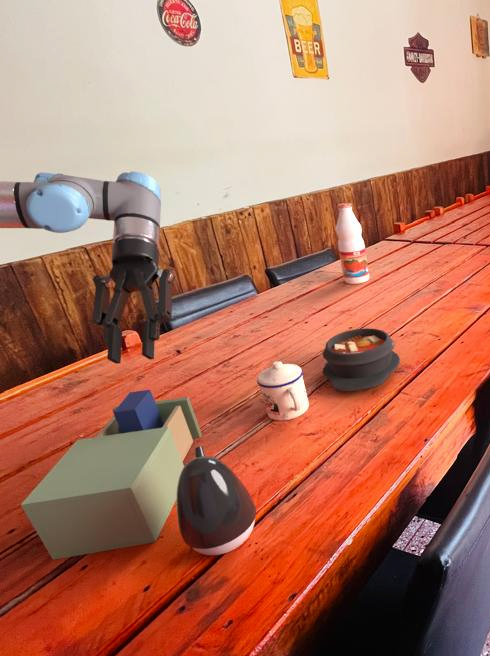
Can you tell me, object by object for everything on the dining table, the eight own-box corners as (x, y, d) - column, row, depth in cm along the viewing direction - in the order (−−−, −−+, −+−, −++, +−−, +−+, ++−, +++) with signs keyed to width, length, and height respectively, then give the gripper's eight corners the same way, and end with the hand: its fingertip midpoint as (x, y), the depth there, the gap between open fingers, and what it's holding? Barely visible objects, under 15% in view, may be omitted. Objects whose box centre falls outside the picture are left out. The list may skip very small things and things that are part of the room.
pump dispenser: (257, 506, 84) (233, 430, 78) (266, 548, 76) (240, 467, 69) (189, 530, 80) (157, 452, 73) (190, 578, 72) (154, 495, 65)
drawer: (140, 432, 104) (124, 395, 100) (208, 422, 106) (195, 385, 102) (96, 495, 87) (75, 453, 83) (178, 482, 89) (161, 440, 85)
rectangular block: (136, 465, 92) (112, 412, 87) (151, 442, 99) (130, 391, 94) (157, 462, 93) (134, 409, 88) (170, 440, 99) (150, 389, 94)
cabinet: (101, 489, 90) (77, 439, 85) (188, 476, 92) (168, 426, 87) (52, 559, 76) (20, 504, 71) (155, 542, 78) (130, 487, 73)
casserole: (401, 392, 115) (396, 359, 111) (317, 402, 113) (309, 369, 109) (400, 345, 137) (397, 317, 134) (330, 353, 135) (324, 324, 132)
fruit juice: (366, 274, 197) (354, 200, 184) (372, 281, 189) (361, 204, 177) (341, 279, 193) (328, 203, 181) (347, 286, 185) (333, 207, 173)
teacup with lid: (260, 410, 111) (246, 363, 106) (300, 394, 116) (289, 349, 111) (281, 433, 103) (268, 383, 98) (323, 415, 108) (312, 366, 103)
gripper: (193, 252, 104) (193, 359, 97) (97, 261, 101) (89, 371, 94) (176, 231, 97) (174, 345, 90) (73, 241, 94) (62, 358, 87)
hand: (131, 358), depth 92 cm, fingers open, 5 cm apart
